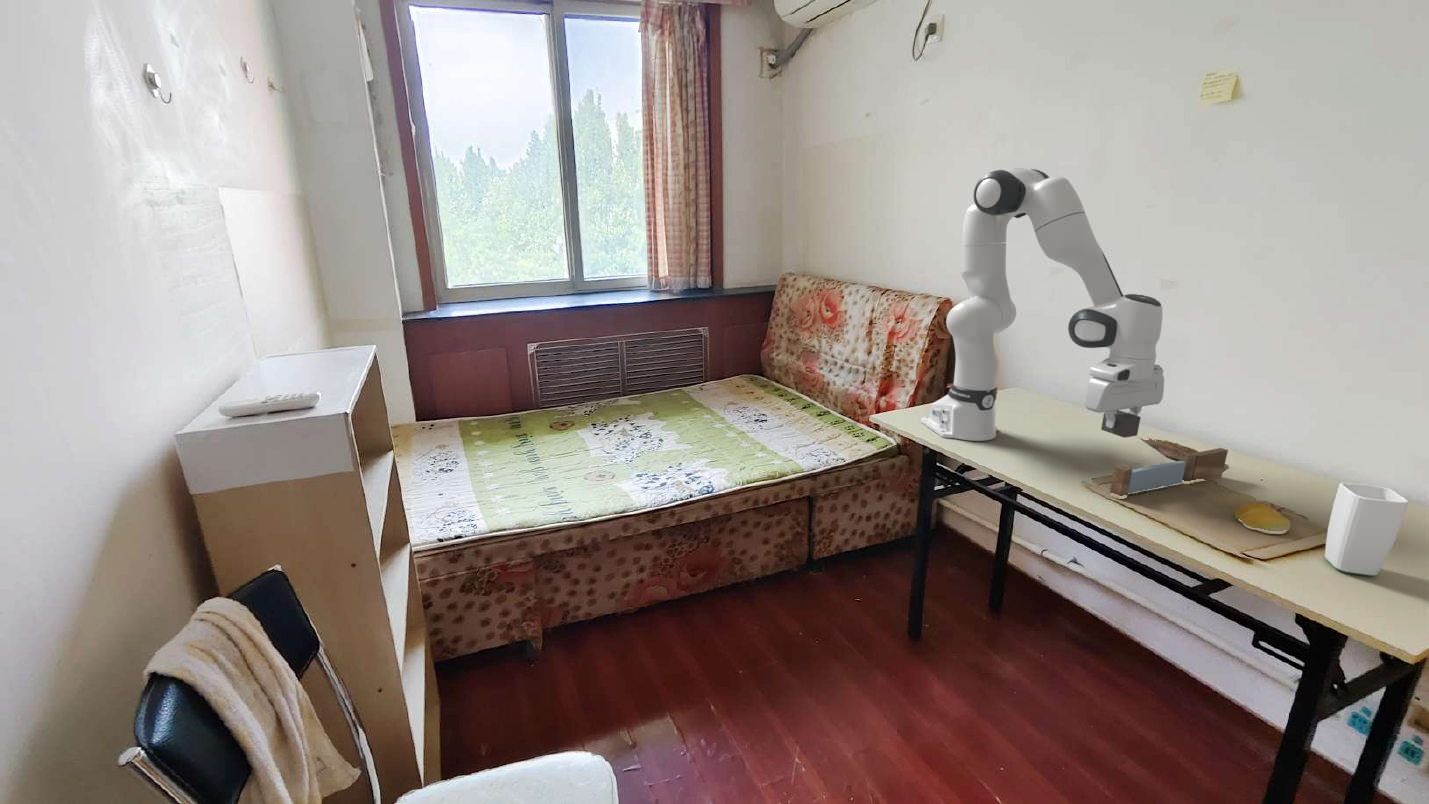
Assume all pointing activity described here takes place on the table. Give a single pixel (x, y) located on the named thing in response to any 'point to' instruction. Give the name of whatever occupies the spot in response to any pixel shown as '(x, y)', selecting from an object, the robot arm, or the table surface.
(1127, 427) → the block
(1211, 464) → the block
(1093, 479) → the table surface
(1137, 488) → the gate
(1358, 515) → the cup
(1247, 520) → the bread roll
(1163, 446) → the wooden fragment
